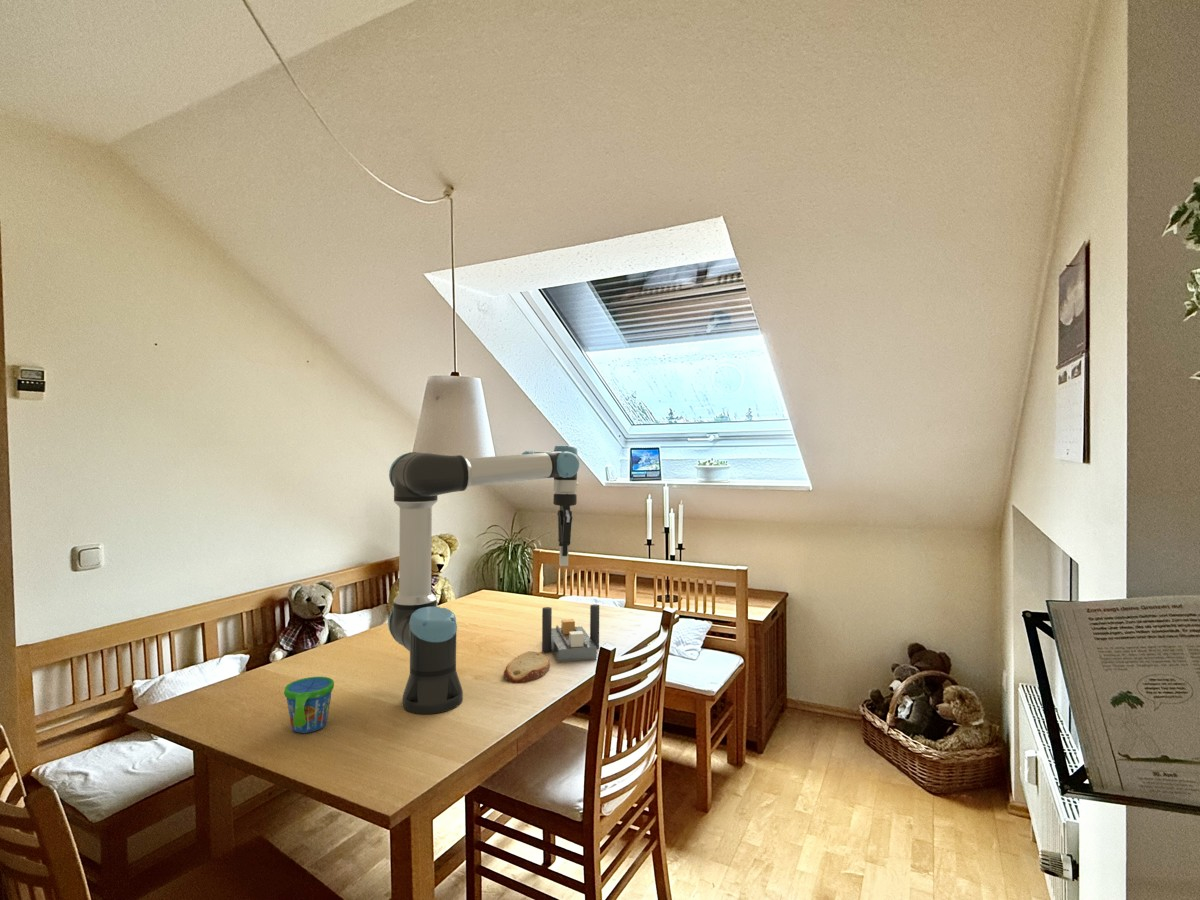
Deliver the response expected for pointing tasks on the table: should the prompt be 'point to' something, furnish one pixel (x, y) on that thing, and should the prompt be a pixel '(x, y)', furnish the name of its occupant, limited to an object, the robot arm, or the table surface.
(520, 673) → the bread slice
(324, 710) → the snack cup
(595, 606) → the post right
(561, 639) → the grey tray
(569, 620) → the toggle
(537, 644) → the table surface
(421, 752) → the table surface
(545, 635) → the post left
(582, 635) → the toggle
